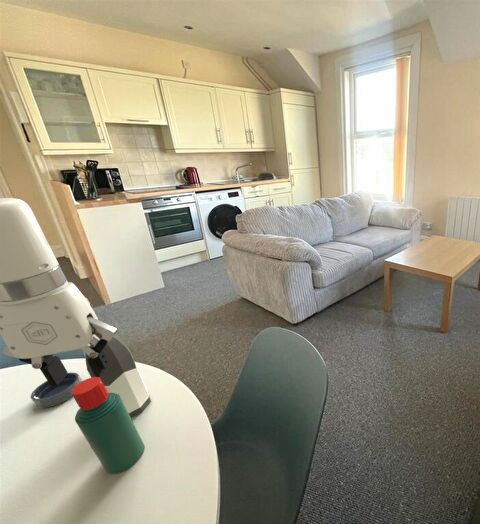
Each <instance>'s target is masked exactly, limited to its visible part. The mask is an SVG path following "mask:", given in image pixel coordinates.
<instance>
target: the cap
mask: <svg viewBox="0 0 480 524" xmlns="http://www.w3.org/2000/svg"><path fill="white" fill-rule="evenodd" d="M71 393H72V397H73V399H74V401H75V403H76V404H77V406H78V409H80V408H81V409H82V410H90V409H93V408H95V407H97V406H99V405H100V404H102V403H103V402H104V401H105V400H106V399H107V397H108V392H107V390H106V388H105V386H104V384H103V382H102V381H101V380H100V378H99V377H92V378H91V377H89V378H85V379H84V380H83V379H82V382H80V383H78V384H77V385H76V386H75V387H74V388H73V389H72V391H71Z"/></svg>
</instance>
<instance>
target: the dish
mask: <svg viewBox="0 0 480 524" xmlns="http://www.w3.org/2000/svg"><path fill="white" fill-rule="evenodd" d="M82 381H83V379H82V378H81V375H80V374H78V372H72V371H70V372H68V374H67V375H66V376H65V377H64V379H63V380H62V381H61V382H60V383H59V384H58V385H57V386H54V387H51V385H50V384H49V382H48V381H47V380H46V381H44V382H42V383H41V384H39V385H38V386H37V387H36V388H35V389H34V390H33V391H32V392H31V394H30V396H29V397H30V399H31V401H32V402H33V404H34V405H35V406H36V407H37V408H39V409H40V408H41V409H45V408H50V407H54V406H57V405H60V404H61V403H64V402H66V401H68V400H70V399H71V398H72V397H73V396H72V393H71V391H72V389H73V388H74V387H75V386H76V385H77V384H78V383H80V382H82Z"/></svg>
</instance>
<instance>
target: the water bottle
mask: <svg viewBox="0 0 480 524" xmlns="http://www.w3.org/2000/svg"><path fill="white" fill-rule="evenodd" d="M74 422H75V423H76V425H77V427H78V428H79V429H80V432H81V433H82V435H83V437H84V438H85V440H86V441H87V443H88V444H89V446H90V448H91V450H92V451H93V453H94V454H95V456H96V458H97V460H98V461H99V463H100V464H101V466H102V467H103V469H104V471H105V472H106V473H107V474H109V475H117V474H120V473H122V472H125V471H126V470H129V469H130V468H132V467H133V466H134V465H135V464H136V463H138V461H139V460H140V459H141V457H142V456H143V454H144V452H145V444H144V442H143V440H142V437H141V436H140V434H139V431H138V430H137V428H136V426H135V424H134V422H133V420H132V418H131V417H130V415H129V413H128V411H127V409H126V407H125V405H124V403H123V401H122V399H121V397H120V396H119V395H118V394H116V393H108V397H107V399H106V400H105V401H104V402H103V403H102V404H100V405H99V406H97V407H95V408H93V409H90V410H82V409H81V408H78V410H77V411H76V414H75V416H74Z"/></svg>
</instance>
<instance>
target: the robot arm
mask: <svg viewBox="0 0 480 524" xmlns="http://www.w3.org/2000/svg"><path fill="white" fill-rule="evenodd" d="M86 298H87V297H85V295H84V294H83V293H82V292H81V290H80V289H79V288H78V287H77V285H76V284H74V282H71V281H70V282H69V281H68V280H67V277H66V275H65V273H64V272H63V270H62V268H61V266H60V264H59V261H58V260H57V257H56V256H55V254H54V251H53V250H52V247H51V245H50V244H49V242H48V240H47V238H46V236H45V233H44V232H43V230H42V228H41V226H40V223H39V222H38V219H37V217H36V216H35V214H34V212H33V210H32V208H31V207H30V205H29V204H28V203H27V202H26V201H24V200H23V199H19V198H15V197H0V336H1V338H2V340H3V342H4V344H5V347H3V348H4V349H3V350H2V351H1V352H2V355H3V356H6V357H10V358H13V359H18V361H20V362H22V363H26V364H28V365H31V367H32V368H33V369H35V370H40V372H41V373H42V375H43V376H44V378H45V379H46V381H48V382H49V384H50V385H51V387H54V386H57V385H58V384H59V383H60V382H61V381H62V380H63V379H64V377H65V376H66V375H67V374H68V373H69V371H68V370H67V368H66V366H65V365H64V363H63V362H62V360H61V358H60V357H59V356H58V355H55V354H62V353H67V352H71V351H76V350H81V351H82V352H83V353H84V354H85V353H86V354H87V355H88V356H89V359H88V360H87V362H88V364H89V366H90V367H91V369H92V371H93V373H94V375H95V377H101V376H102V375H103V374H104V372H105V371H106V369H107V368H108V367H109V360H108V358H107V356H106V354H105V352H104V350H103V349H104V347H105V346H106V345H107V343H108V342H109V341H110V339H111V338H112V337H113V336H114V334H115V335H116V333H117V332H118V328H116V327H114V326H112V325H110V324H108V323H107V322H103V321H101V320H99V318H98V316H97V314H95V313H96V312H95V313H94V311H95V310H94V311H93V309H94V308H93V309H92V308H91V306H90V304H89V303H90V302H89V303H88V301H89V300H88V301H87V300H86ZM96 333H100V334H102V338H101V339H99V338H98V337H97V336H96V335H95V334H96ZM89 343H91V344H92V345H93V346H94V347H92V346H91V345H90V344H89Z"/></svg>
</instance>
